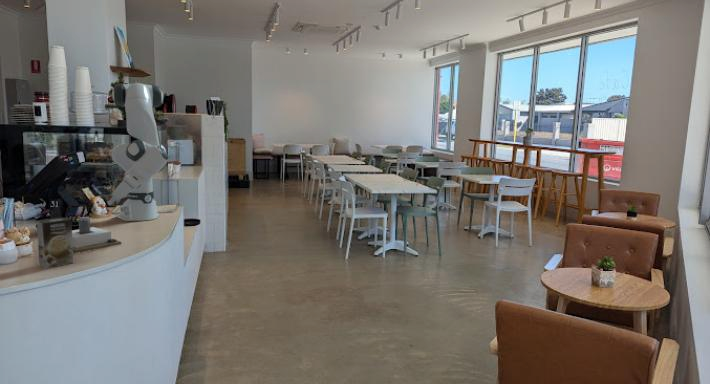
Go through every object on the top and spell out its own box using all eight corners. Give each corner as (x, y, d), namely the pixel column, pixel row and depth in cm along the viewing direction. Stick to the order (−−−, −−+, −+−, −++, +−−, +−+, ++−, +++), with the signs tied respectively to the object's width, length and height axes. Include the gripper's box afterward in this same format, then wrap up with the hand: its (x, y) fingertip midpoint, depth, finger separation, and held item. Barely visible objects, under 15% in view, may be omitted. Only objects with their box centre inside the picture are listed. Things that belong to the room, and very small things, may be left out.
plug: (78, 241, 198) (76, 218, 197) (88, 240, 201) (86, 216, 200) (83, 243, 196) (81, 219, 195) (93, 241, 199) (91, 217, 198)
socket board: (49, 244, 198) (49, 239, 197) (93, 236, 212) (93, 231, 212) (76, 253, 185) (76, 248, 185) (121, 244, 200) (121, 239, 200)
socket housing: (59, 242, 197) (58, 232, 196) (93, 236, 208) (93, 227, 208) (76, 247, 189) (75, 237, 188) (111, 241, 201) (110, 231, 200)
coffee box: (45, 268, 166) (42, 223, 164) (39, 265, 170) (35, 220, 168) (74, 263, 173) (71, 219, 171) (67, 259, 177) (64, 216, 175)
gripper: (134, 170, 209) (110, 193, 208) (125, 175, 190) (99, 200, 189) (145, 180, 211) (122, 203, 210) (137, 187, 192) (112, 211, 191)
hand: (111, 202), depth 199 cm, fingers open, 8 cm apart
